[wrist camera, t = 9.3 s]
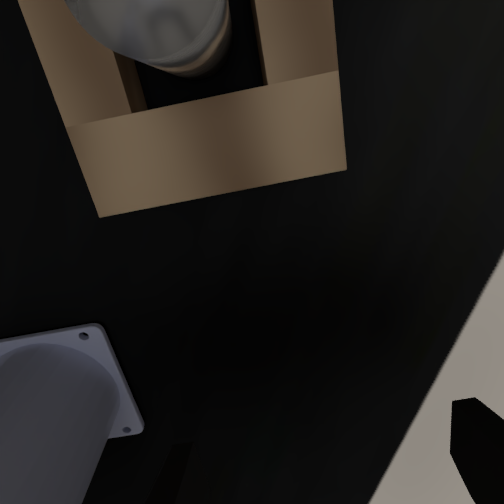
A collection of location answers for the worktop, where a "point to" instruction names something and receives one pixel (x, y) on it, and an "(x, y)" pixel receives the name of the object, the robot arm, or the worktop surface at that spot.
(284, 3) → the socket plate
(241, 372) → the worktop surface
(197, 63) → the metal peg
